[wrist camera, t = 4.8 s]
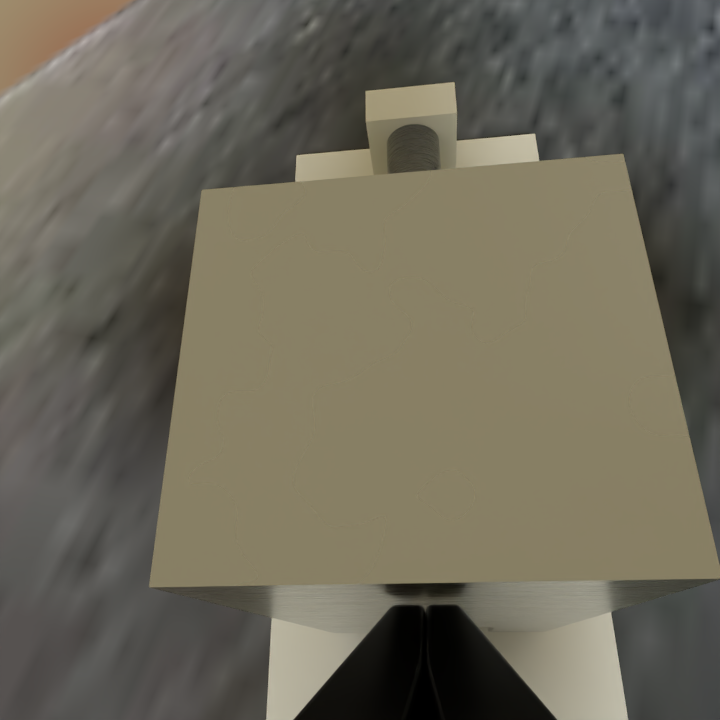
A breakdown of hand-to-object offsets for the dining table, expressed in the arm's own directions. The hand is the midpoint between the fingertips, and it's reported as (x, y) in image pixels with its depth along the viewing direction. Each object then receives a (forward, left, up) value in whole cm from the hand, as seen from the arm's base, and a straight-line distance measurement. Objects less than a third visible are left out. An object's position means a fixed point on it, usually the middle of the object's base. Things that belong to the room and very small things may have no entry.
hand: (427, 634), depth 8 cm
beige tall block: (+2, -2, -10) cm, 11 cm away
